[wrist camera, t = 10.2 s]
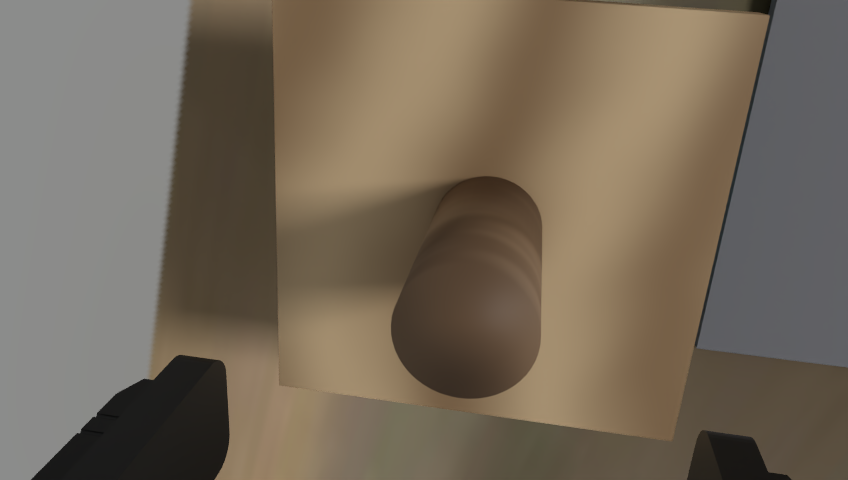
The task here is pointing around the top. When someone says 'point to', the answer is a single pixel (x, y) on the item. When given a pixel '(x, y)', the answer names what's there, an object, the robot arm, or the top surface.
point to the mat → (788, 199)
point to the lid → (504, 200)
